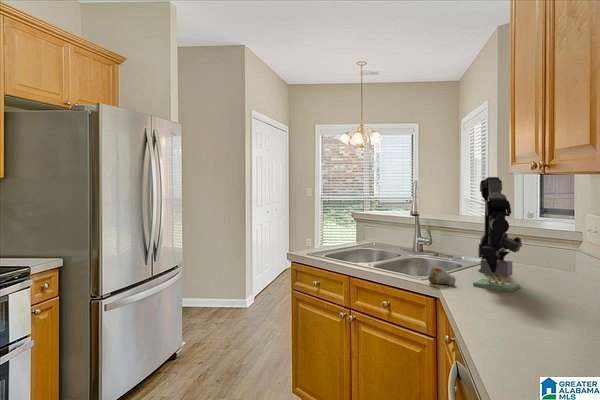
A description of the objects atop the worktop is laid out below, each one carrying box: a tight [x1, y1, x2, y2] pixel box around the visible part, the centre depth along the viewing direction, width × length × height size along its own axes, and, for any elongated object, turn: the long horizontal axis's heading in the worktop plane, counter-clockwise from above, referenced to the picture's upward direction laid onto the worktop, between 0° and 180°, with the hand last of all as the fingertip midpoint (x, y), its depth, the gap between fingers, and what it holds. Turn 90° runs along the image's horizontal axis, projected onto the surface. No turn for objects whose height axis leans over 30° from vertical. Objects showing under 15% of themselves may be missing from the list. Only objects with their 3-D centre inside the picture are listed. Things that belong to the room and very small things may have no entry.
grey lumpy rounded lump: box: [428, 265, 457, 286], centre depth 180 cm, size 8×10×10 cm
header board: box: [472, 274, 521, 293], centre depth 175 cm, size 9×14×4 cm, turn 46°
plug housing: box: [480, 259, 513, 278], centre depth 175 cm, size 5×10×5 cm, turn 46°
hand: (496, 271), depth 175 cm, fingers closed on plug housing, 5 cm apart
